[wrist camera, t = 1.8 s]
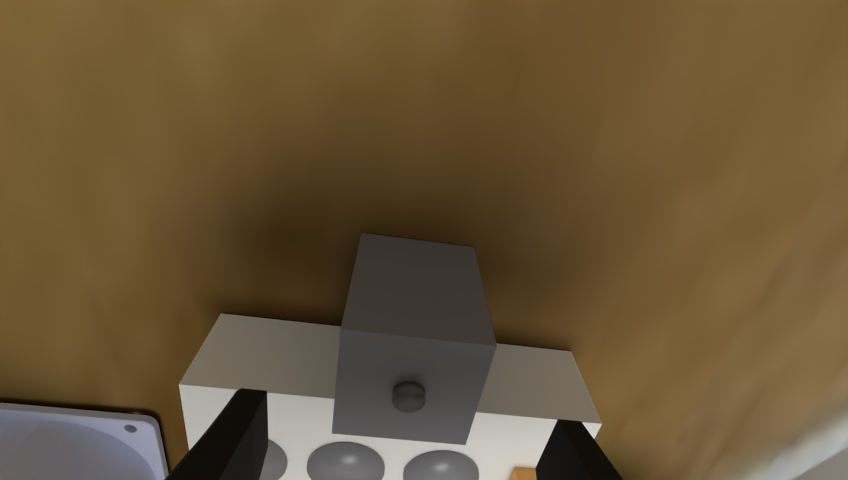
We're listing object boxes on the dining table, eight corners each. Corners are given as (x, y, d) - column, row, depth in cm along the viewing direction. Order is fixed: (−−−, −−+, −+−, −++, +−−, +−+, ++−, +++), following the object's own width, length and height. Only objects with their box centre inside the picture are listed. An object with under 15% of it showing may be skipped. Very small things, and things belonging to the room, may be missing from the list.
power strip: (229, 417, 20) (186, 517, 16) (220, 313, 17) (166, 404, 13) (531, 444, 21) (556, 541, 18) (570, 351, 18) (610, 444, 15)
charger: (349, 350, 18) (327, 474, 14) (361, 232, 15) (338, 337, 11) (446, 360, 18) (456, 484, 14) (474, 247, 16) (498, 354, 11)
